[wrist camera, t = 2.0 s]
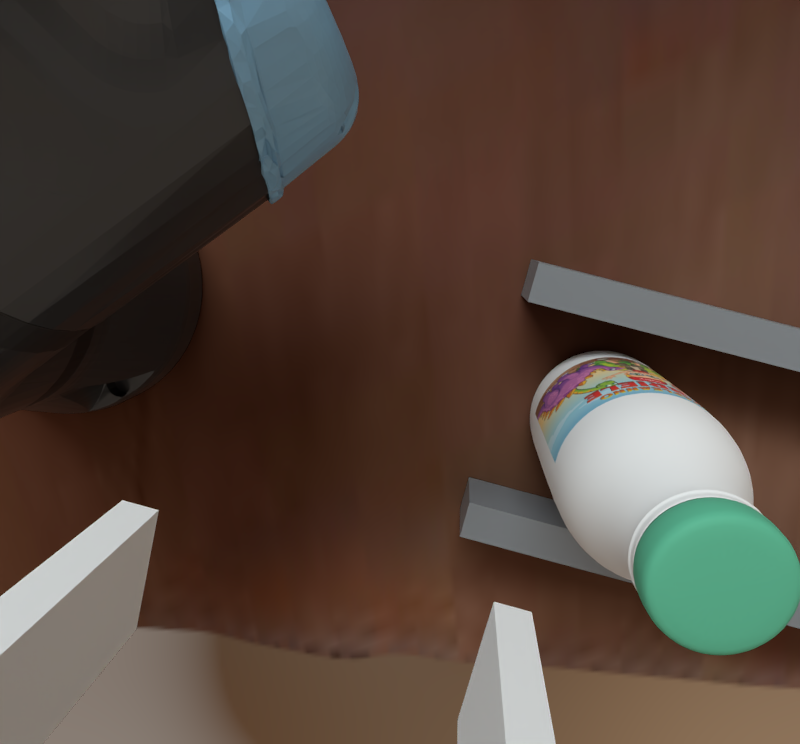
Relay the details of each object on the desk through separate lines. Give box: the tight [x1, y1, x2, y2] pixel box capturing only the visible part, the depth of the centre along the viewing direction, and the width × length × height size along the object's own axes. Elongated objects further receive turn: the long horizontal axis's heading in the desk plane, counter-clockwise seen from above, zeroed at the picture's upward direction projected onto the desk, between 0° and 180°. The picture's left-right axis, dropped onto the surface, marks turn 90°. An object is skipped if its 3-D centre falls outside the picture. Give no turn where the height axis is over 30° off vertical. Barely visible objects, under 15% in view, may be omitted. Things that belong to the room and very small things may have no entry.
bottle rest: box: [460, 259, 800, 629], centre depth 38 cm, size 25×15×4 cm, turn 76°
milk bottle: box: [530, 351, 800, 655], centre depth 30 cm, size 8×8×20 cm
